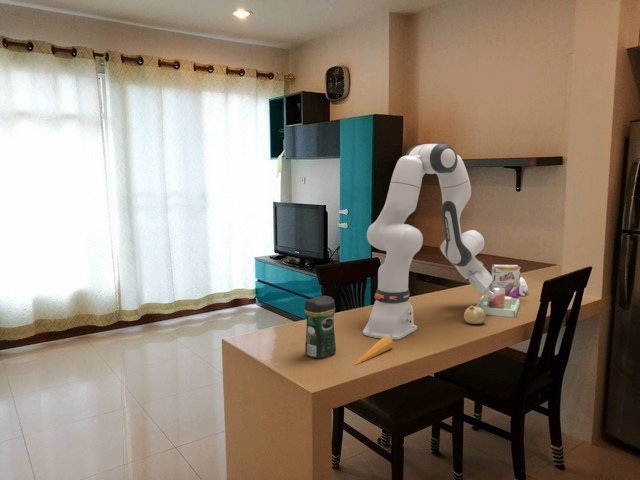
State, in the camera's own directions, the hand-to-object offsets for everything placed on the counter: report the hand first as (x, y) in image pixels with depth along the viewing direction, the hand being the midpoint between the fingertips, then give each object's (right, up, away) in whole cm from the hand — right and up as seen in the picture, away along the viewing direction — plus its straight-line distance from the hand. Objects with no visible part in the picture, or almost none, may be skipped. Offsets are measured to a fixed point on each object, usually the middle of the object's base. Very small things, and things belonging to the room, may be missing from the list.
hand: (495, 295), depth 200 cm
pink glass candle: (+1, -7, +1) cm, 7 cm away
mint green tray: (+3, -7, +5) cm, 9 cm away
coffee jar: (-71, -14, -42) cm, 84 cm away
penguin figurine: (+24, -3, +33) cm, 41 cm away
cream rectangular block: (+5, -6, +9) cm, 12 cm away
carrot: (-55, -15, -44) cm, 71 cm away
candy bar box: (+11, -5, +19) cm, 22 cm away
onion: (-12, -10, -11) cm, 19 cm away
